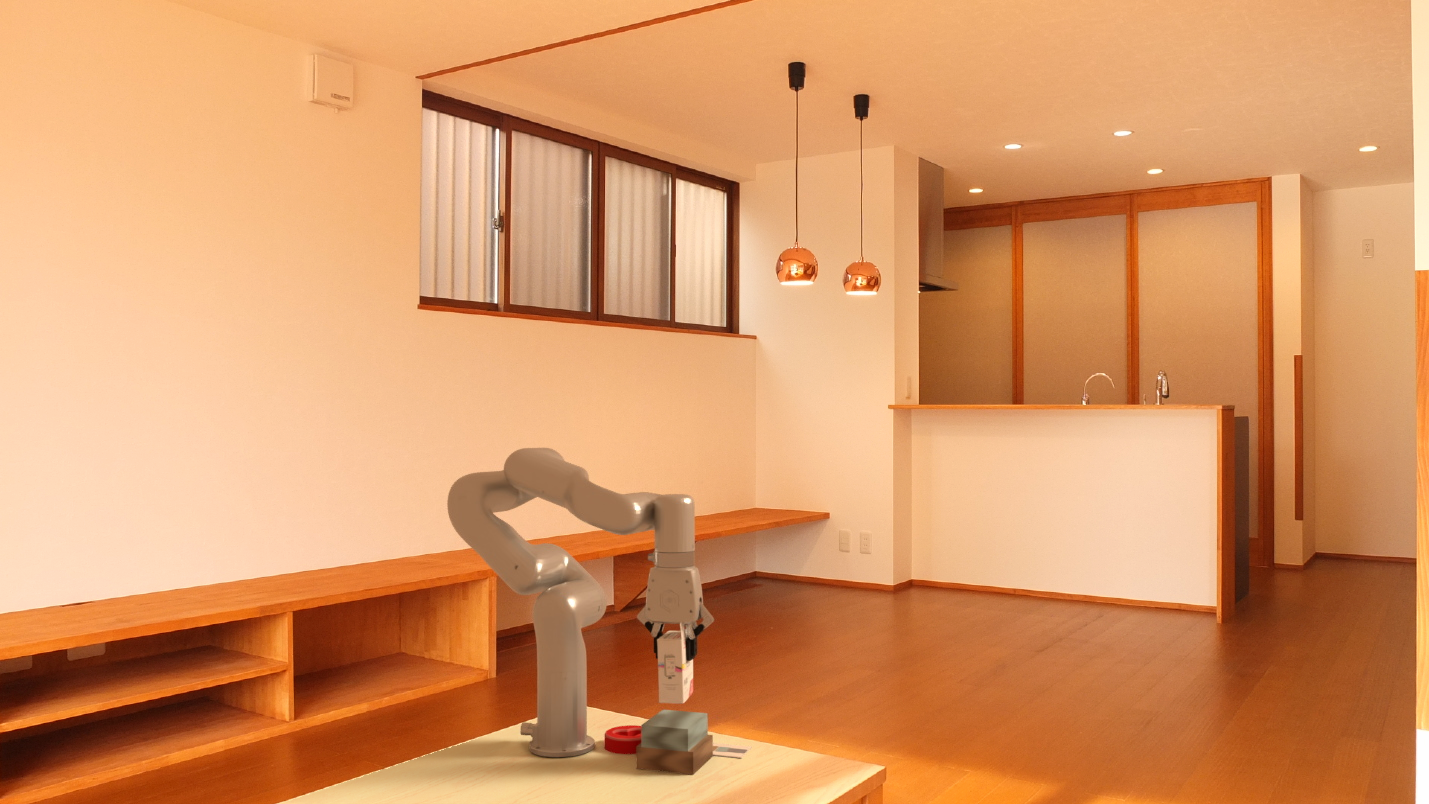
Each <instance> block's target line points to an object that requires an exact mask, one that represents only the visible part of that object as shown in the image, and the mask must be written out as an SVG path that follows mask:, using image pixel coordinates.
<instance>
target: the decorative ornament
mask: <svg viewBox="0 0 1429 804" xmlns="http://www.w3.org/2000/svg"><path fill="white" fill-rule="evenodd" d="M639 744H641V725H636V724H635V725H632V724H631V725H630V724H628V725H620V726H615V727H614V726H613V727H611V728H608V729H607V730H606V731H605V732H604V750H605V751H607V752H609V753H612V754H617V755H636V747H637V746H638V745H639Z"/></svg>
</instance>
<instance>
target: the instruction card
mask: <svg viewBox="0 0 1429 804" xmlns="http://www.w3.org/2000/svg"><path fill="white" fill-rule="evenodd" d="M751 749H752V746H751V745H750V746H749V745H741V744H739V745H738V744H729V743H720V742H719V743H717V742H713V756H715V757H724V758H734V759H742V758H743V757H744V756H745V755H747V753H748V752H750V750H751Z"/></svg>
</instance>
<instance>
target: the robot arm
mask: <svg viewBox="0 0 1429 804" xmlns="http://www.w3.org/2000/svg"><path fill="white" fill-rule="evenodd" d="M536 498H539V499H542V500H545V501H547V502H549V503H552V504H555V505H557V506H558V507H561V508H564V509H566V510H567V511H569V513H570V514H572V515H573V516H574V517H575V518H577V519H578V520H580V521H581V522H583V523H585V524H587V525H590V526H593V527H594V528H597V529H599V530H603V531H605V532H607V533H611V534H613V535H618V536H627V535H632V534H633V535H634V534H637V533H642V532H643V533H644V532H649V531H654V550H653V552H652V553H648V555H647V560H648V561H649V562H650V561H651V562H653V565H654V567H650V568H649V574H648V579H647V588H646V597H645V605H644V606H643V608H642V609H641V610H640V611H639V613H637V615H636V619H637V620H639V622H640V623H641V624H643V625H644V627H645V628H646V629H647V630H648V631H649V633H650V635H651V637H653V654H655V659H656V660H658V646H657V639H658V638H660V637H661V636H663V635H664V634H665V633H663V630H664V628H665V624H672V625H673V624H675V625H676V624H677V625H680V622H682V624H685V629H686V630H687V633H688V639H687V640H686V660H687V661H691V660H693V661H694V659H695V658H696V656H697V654H698V637H699V636H700V635H701V634H702V633H703V632H704V630H705V629H707V628H708V627H709V626H710V625H711V624H712V623H714V622H715V618H714V617H713V615H712V614H711V613H710V611H709V610H708V608H706V606H705V605H704V598H703V597H704V596H703V589H702V588H703V587H702V582H701V576H700V574H701V573H700V570H699V568H698V567H696V538H695V537H696V530H695V529H696V528H695V527H696V526H695V525H696V524H695V523H696V521H695V520H696V518H695V516H696V515H695V501H694V498H693V497H692V496H691V495H689V494H686V493H685V494H684V493H667V494H666V493H665V494H659V493H653V492H646V491H640V492H631V493H630V492H629V493H619V492H617V491H613V490H610V489H608V488H606V487H602V486H600V485H597V484H596V483H594V482H593V481H590V477H589V473H588V471H587V469H585V467H582V466H579V465H576V464H573V463H571V462H568V461H565V458H564V457H563V456H562V455H561V454H560V453H559V452H558V451H557V450H555V449H553V448H549V447H524V448H520V449H516V450H515V451H513V452H511V454H509V455H508V457H507V458H506V460H505V461H504V465H503V469H502V470H496V471H495V470H494V471H493V470H491V471H478V472H472V473H468V474H464V475H462V476H461V477H458V479H456V481H454V482H453V484H452V485H451V487H450V489H449V492H448V495H447V501H446V502H447V503H446V504H447V505H446V506H447V514H448V516H449V517H448V518H449V521H450V523H451V525H452V527H453V528H454V530H455V532H456V533H457V534H458V536H459V537H460V538H461V539H462V540H463V541H464V542H465V543H466V544H467V545H468V546H469V547H470V548H471V549H473V551H474V552H476V554H478V555H479V557H480V558H481V559H483V561H484V562H485V563H486V564H487V566H488V567H490V569H492V571H493V572H494V573H495V574H496V575H497V576H498V577H499V578H500V579H501V580H502V582H503V583H504V584H505V585H507V586H508V587H509V588H510V589H511V590H512V591H513V592H514V593H515V594H517V595H520V596H530V595H534V594H535V595H536V594H538V593H539V595H538V596H537V597H536V599H535V601H534V604H533V607H532V621H533V627H534V633H535V640H536V662H537V664H536V668H537V671H536V672H537V681H536V683H537V684H536V685H537V688H536V690H537V694H536V695H537V698H536V699H537V701H536V702H537V703H536V706H537V714H536V715H537V716H536V717H537V720H536V723H532V722H526V721H525V722H524V721H523V722H522V723H521V724H520V736H530V737H531V738H532V739H531V741H529V745H528V746H529V747H528V749H529V751H530V752H531V753H532V754H534V755H537V756H540V757H546V758H547V757H548V758H567V757H574V756H580V755H584V754H587V753H589V752H591V751H592V750H593V749H594V748H595V746H596V744H595V739H594V738H593V737H592V736H590V735H588V730H587V729H588V725H587V724H588V721H587V720H588V717H587V716H588V713H587V712H588V711H587V709H588V706H587V705H588V703H587V702H588V696H587V693H588V691H587V689H588V688H587V686H588V685H587V684H588V683H587V681H588V676H587V674H588V673H587V672H588V671H587V670H588V669H587V668H588V667H587V665H588V664H587V662H588V661H587V649H586V643H585V640H584V637H583V633H582V629H583V628H586V627H588V626H591V625H594V624H595V623H597V622H598V621H600V620H601V619H602V618H603V616H604V615H605V612H606V610H607V603H608V601H607V596H606V593H605V590H604V589H603V587H602V586H601V585H600V584H599V582H598V581H597V580H596V579H595V578H594V577H593V576H592V574H590V573H589V572H588V571H587V570H586V569H585V568H584V567H583V566H582V565H581V564H580V563H579V561H577V560H576V558H574V557H573V556H572V555H571V554H570V552H568V551H567V550H566V549H565V548H562V547H561V546H559V545H557V544H554V543H547V542H546V543H539V544H532V543H530V542H528V541H527V540H526V539H525V538H523V536H522V535H520V534H519V533H518V532H517V530H516V529H515V528H514V527H513V526H512V525H510V524H509V523H508V522H506V521H504V520H503V519H501V518H500V517H498V516H497V515H496V514H495V513H501V512H509V511H512V510H515V509H516V508H518V507H520V506H522V505H524V504H526V503H528V502H531V501H532V500H534V499H536ZM701 619H702V621H701V622H700V623H699V624H697V621H699V620H701Z"/></svg>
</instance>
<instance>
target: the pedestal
mask: <svg viewBox="0 0 1429 804" xmlns="http://www.w3.org/2000/svg"><path fill="white" fill-rule="evenodd" d="M708 715H709V714H708V713H707V712H699V711H698V712H696V711H687V710H686V711H685V710H674V709H662V710H660V711H659V712H657V714H655V715H653V716H651V717H650V718H649V719H648V720H646V721H644V722H643V723H642V724H641V725H640V726H641V744H639V745H638V746H637V747H636V754H635V755H636V757H635V758H636V763H635V764H636V765H635V766H636V769H637V770H643V771H655V772H664V773H665V772H666V773H674V774H683V775H692V776H693V775H694V776H695V774H696V773H697V772H698V771H699V770H700V769H701V768H702V767H704V766H705V764H706V763H707V762H708V761H709V760H711V759H712V758H713V743H714V742H713V738H714V737H713V734H709V733H708V730H709V728H708V727H709V726H708V723H709V722H708V717H709V716H708Z"/></svg>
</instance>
